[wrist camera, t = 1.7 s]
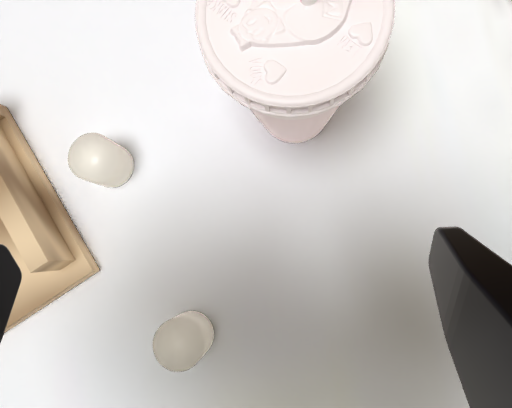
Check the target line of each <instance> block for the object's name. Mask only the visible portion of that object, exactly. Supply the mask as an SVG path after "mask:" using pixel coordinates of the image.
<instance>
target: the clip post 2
mask: <svg viewBox="0 0 512 408" xmlns="http://www.w3.org/2000/svg"><path fill="white" fill-rule="evenodd" d="M213 340H214V329H213V326H212V323H211V322H210V320H209V319H208V318H207V317H206V316H205V315H204V314H202V313H200V312H197V311H186V312H183V313H181V314H179V315H177V316H175V317H174V318H172V319H170V320H168V321H166V322H165V323H163V324H162V325H161V326H160V327H159V328H158V329H157V331H156V333H155V335H154V339H153V352H154V355H155V357H156V359H157V361H158V362H159V363H160V364H161V365H162V366H163V367H164V368H166V369H168V370H170V371H174V372H182V371H186V370H189V369H190V368H192V367H193V366H195V365H196V364H197V363H198V361H199V360H200V359H201V358H202V357H203V356H204V355H205V354H206V352H207V351H208V350H209V349H210V347H211V346H212V343H213Z"/></svg>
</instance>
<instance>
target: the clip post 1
mask: <svg viewBox="0 0 512 408" xmlns="http://www.w3.org/2000/svg"><path fill="white" fill-rule="evenodd" d="M68 164H69V167H70V169H71V171H72V172H73V173H74V174H75V175H76V176H77V177H79V178H81V179H83V180H86V181H89V182H92V183H95V184H98V185H101V186H104V187H108V188H115V187H119V186H121V185H123V184H124V183H126V182H127V181H128V180H129V178H130V177H131V175H132V173H133V169H134V162H133V158H132V156H131V154H130V153H129V151H128V150H127V149H125V148H124V147H122V146H120V145H119V144H117V143H115V142H113V141H112V140H110V139H108V138H107V137H105V136H103V135H101V134H98V133H87V134H84V135H82V136H80V137H79V138H77V139H76V140H75V141H74V142H73V144H72V145H71V147H70V149H69V153H68Z"/></svg>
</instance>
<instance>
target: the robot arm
mask: <svg viewBox="0 0 512 408" xmlns="http://www.w3.org/2000/svg"><path fill="white" fill-rule="evenodd" d="M429 269H430V274H431V278H432V283H433V287H434V291H435V296H436V300H437V305H438V309H439V313H440V318H441V322H442V327H443V331H444V335H445V338H446V341H447V344H448V348H449V350H450V353H451V356H452V359H453V362H454V364H455V367H456V370H457V373H458V376H459V378H460V381H461V384H462V387H463V389H464V392H465V395H466V398H467V401H468V403H469V406H470V408H512V265H511V264H509V263H508V262H506V261H505V260H504V259H502V258H501V257H500V256H498V255H497V254H495V253H494V252H493V251H491V250H490V249H489V248H487V247H486V246H485V245H483V244H482V243H480V242H479V241H478V240H476V239H475V238H474V237H472V236H471V235H469V234H468V233H467V232H465V231H464V230H463V229H461V228H459V227H439V228H437V229H436V230H435V232H434V236H433V241H432V245H431V250H430V255H429ZM21 280H22V273H21V270H20V268H19V266H18V264H17V263H16V261H15V259H14V258H13V256H12V254H11V253H10V251H9V249H8V248H7V247H6V246H5V245H3V244H0V343H1V340H2V337H3V335H4V332H5V329H6V326H7V323H8V320H9V317H10V314H11V311H12V308H13V305H14V302H15V299H16V296H17V293H18V290H19V287H20V284H21Z"/></svg>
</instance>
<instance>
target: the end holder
mask: <svg viewBox="0 0 512 408" xmlns="http://www.w3.org/2000/svg"><path fill="white" fill-rule="evenodd" d="M0 244H3V245H5V246H6V247H7V248H8V249H9V251H10V253H11V254H12V256H13V258H14V259H15V261H16V263H17V264H18V266H19V268H20V270H21V273H22V280H21V284H20V287H19V290H18V293H17V296H16V299H15V302H14V305H13V308H12V311H11V314H10V317H9V320H8V323H7V326H6V329H5V332H7V331H8V330H10V329H11V328H13V327H14V326H16V325H17V324H19V323H20V322H22V321H23V320H25V319H26V318H28V317H29V316H31V315H33V314H34V313H36V312H37V311H39V310H40V309H42V308H43V307H45V306H46V305H48V304H49V303H51V302H52V301H54V300H55V299H57V298H58V297H60V296H61V295H63V294H64V293H66V292H68V291H69V290H71V289H72V288H74V287H75V286H77V285H78V284H80V283H81V282H83V281H84V280H86V279H87V278H89V277H90V276H92V275H93V274H95V273H96V272H98V271H100V269H99V268H98V266H97V264H96V262H95V261H94V259H93V257H92V255H91V254H90V252H89V250H88V248H87V247H86V245H85V243H84V241H83V240H82V238H81V236H80V234H79V233H78V231H77V229H76V227H75V226H74V224H73V222H72V220H71V219H70V217H69V215H68V213H67V212H66V210H65V208H64V206H63V205H62V203H61V201H60V199H59V198H58V196H57V194H56V192H55V191H54V189H53V187H52V185H51V184H50V182H49V180H48V178H47V177H46V175H45V173H44V171H43V170H42V168H41V166H40V164H39V163H38V161H37V159H36V157H35V156H34V154H33V152H32V150H31V149H30V147H29V145H28V143H27V142H26V140H25V138H24V136H23V135H22V133H21V131H20V129H19V128H18V126H17V124H16V122H15V121H14V119H13V117H12V115H11V114H10V112H9V110H8V108H7V107H5V106H3V105H1V104H0ZM5 332H4V333H5Z"/></svg>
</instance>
